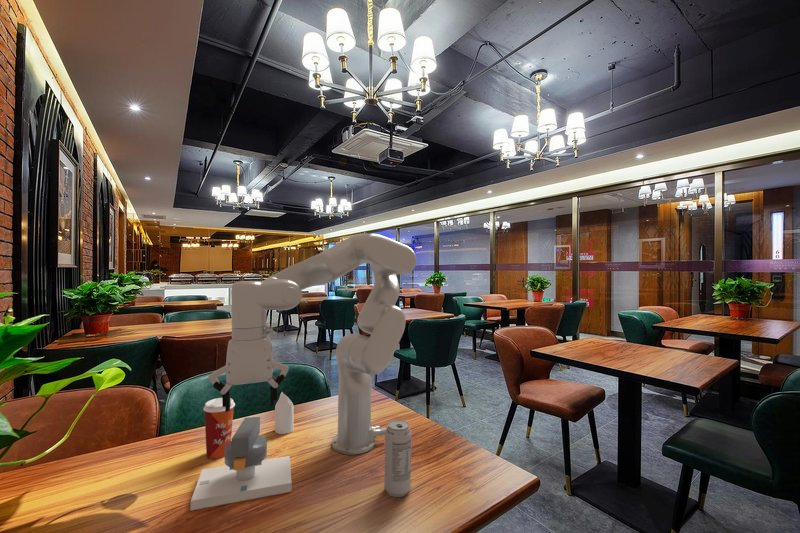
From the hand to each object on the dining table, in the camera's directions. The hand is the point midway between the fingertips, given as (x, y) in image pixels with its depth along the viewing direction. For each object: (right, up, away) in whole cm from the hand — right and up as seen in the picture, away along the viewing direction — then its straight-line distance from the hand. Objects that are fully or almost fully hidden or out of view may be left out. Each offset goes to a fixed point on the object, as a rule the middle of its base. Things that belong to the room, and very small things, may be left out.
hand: (250, 406), depth 82 cm
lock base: (-1, -18, -1) cm, 18 cm away
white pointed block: (-1, -19, +27) cm, 33 cm away
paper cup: (-14, -18, +13) cm, 26 cm away
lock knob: (-1, -12, -1) cm, 12 cm away
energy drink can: (+35, -19, -2) cm, 39 cm away
